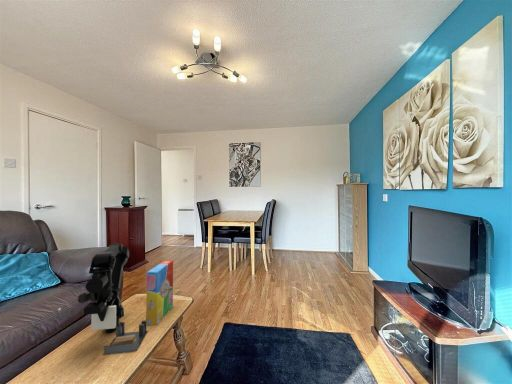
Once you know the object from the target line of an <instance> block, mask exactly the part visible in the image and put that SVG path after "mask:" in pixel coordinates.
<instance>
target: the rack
mask: <svg viewBox="0 0 512 384" xmlns="http://www.w3.org/2000/svg"><path fill="white" fill-rule="evenodd" d="M125 323H126V322H125V321H121V322H120V321H119V326H117V327H116V331H115V337H114V338H113V340H112V342H111V343H110V344H109V345H104V346H103V353H102V355H103V356H104V355H112V354H123V353H132V352H134V353H135V352H137V351H139V348H140V347H141V345H142V343H143V341H144V340H145V337H146V336H147V333H148V332H149V330H147V327H148V326H147V320H145V319H144V320H141V322H140V324H139V325H138V331H132V332H131V331H129V332H125V330H126V329H125V327H126V326H125ZM129 335H135V339H136V343H132V344H121V345H111V344H112V343H113V342H114V340H115V339H116V337H121V336H129Z"/></svg>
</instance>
